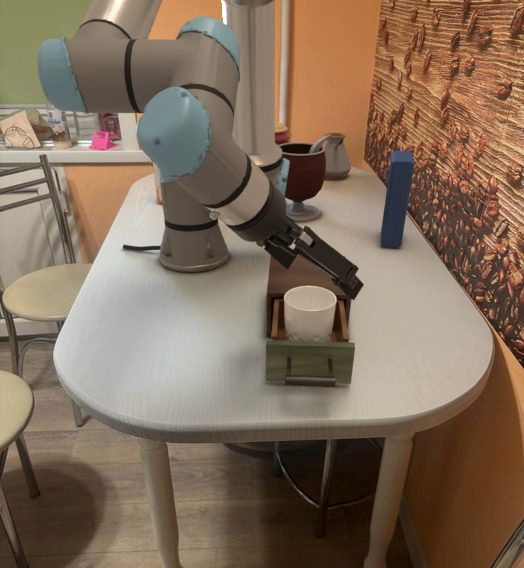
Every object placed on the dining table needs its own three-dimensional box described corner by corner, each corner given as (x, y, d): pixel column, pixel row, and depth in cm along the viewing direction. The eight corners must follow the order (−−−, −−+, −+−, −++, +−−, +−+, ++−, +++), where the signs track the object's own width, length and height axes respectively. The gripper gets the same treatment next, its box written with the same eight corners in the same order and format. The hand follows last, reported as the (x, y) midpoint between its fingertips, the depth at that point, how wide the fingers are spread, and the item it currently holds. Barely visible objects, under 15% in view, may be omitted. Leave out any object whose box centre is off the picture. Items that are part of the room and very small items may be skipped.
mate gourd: (282, 225, 138) (283, 144, 126) (265, 208, 148) (265, 132, 137) (336, 218, 142) (343, 140, 130) (316, 202, 152) (320, 128, 141)
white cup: (291, 370, 82) (293, 313, 76) (276, 343, 88) (277, 289, 82) (339, 362, 83) (344, 306, 78) (321, 336, 90) (325, 283, 84)
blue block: (401, 249, 125) (415, 162, 114) (379, 247, 126) (391, 160, 114) (401, 234, 133) (414, 151, 121) (380, 232, 133) (391, 150, 122)
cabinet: (347, 338, 93) (351, 295, 88) (266, 336, 93) (266, 292, 89) (341, 296, 106) (344, 256, 101) (270, 294, 106) (270, 254, 101)
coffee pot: (313, 171, 179) (316, 123, 171) (347, 171, 179) (352, 123, 171) (318, 191, 161) (321, 139, 153) (356, 191, 161) (361, 139, 153)
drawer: (354, 410, 75) (359, 371, 72) (263, 406, 76) (263, 368, 72) (344, 333, 92) (347, 298, 89) (270, 331, 93) (270, 296, 89)
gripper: (170, 201, 72) (255, 269, 88) (302, 259, 56) (374, 329, 73) (200, 153, 72) (279, 231, 88) (339, 199, 56) (403, 282, 73)
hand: (322, 275), depth 81 cm, fingers open, 13 cm apart
